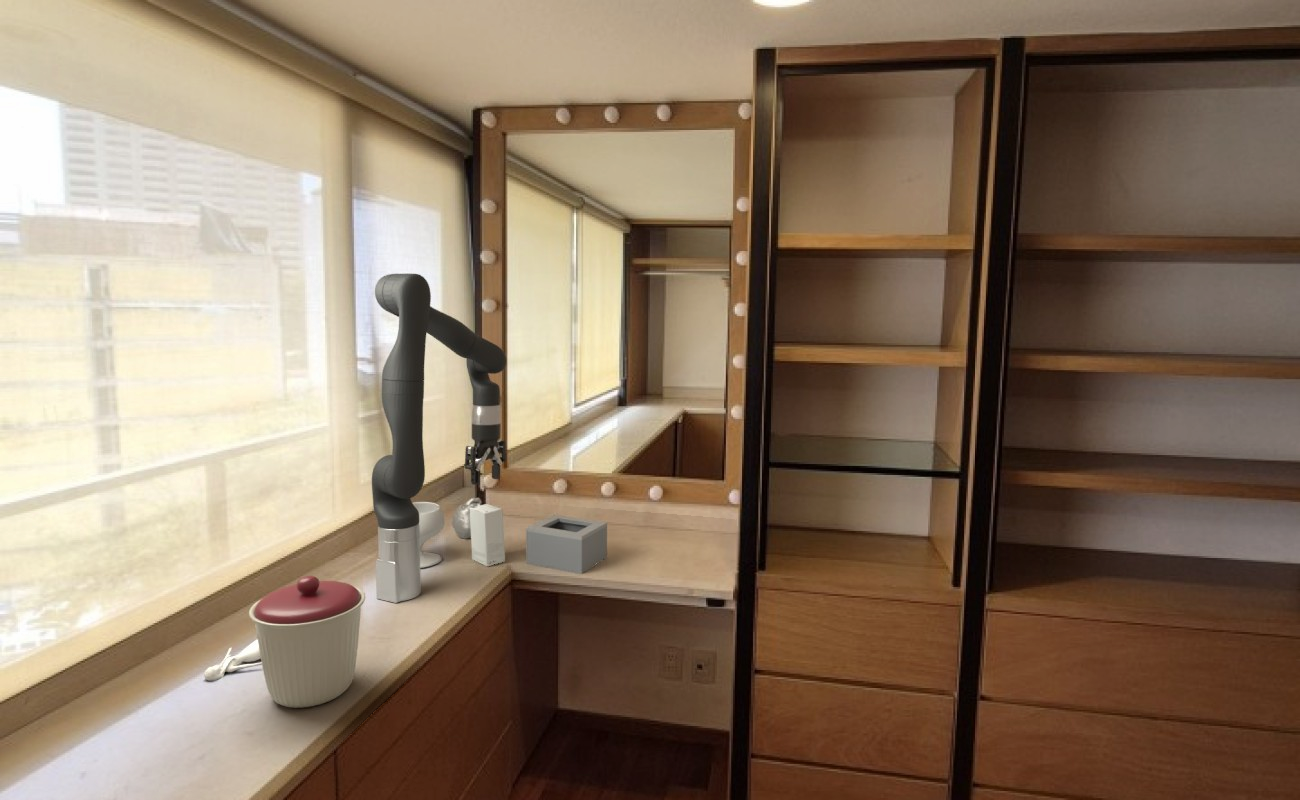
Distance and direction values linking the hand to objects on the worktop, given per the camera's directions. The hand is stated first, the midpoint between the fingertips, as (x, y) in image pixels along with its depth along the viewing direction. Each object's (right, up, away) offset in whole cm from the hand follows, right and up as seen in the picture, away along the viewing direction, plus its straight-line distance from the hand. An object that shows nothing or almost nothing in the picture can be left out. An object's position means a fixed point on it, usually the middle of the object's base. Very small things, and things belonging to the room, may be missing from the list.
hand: (485, 481), depth 190 cm
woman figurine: (-32, -29, -54) cm, 69 cm away
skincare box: (0, -22, +2) cm, 22 cm away
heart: (-11, -19, +23) cm, 32 cm away
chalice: (-18, -22, 0) cm, 29 cm away
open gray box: (+21, -22, +3) cm, 31 cm away
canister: (-15, -30, -65) cm, 73 cm away
